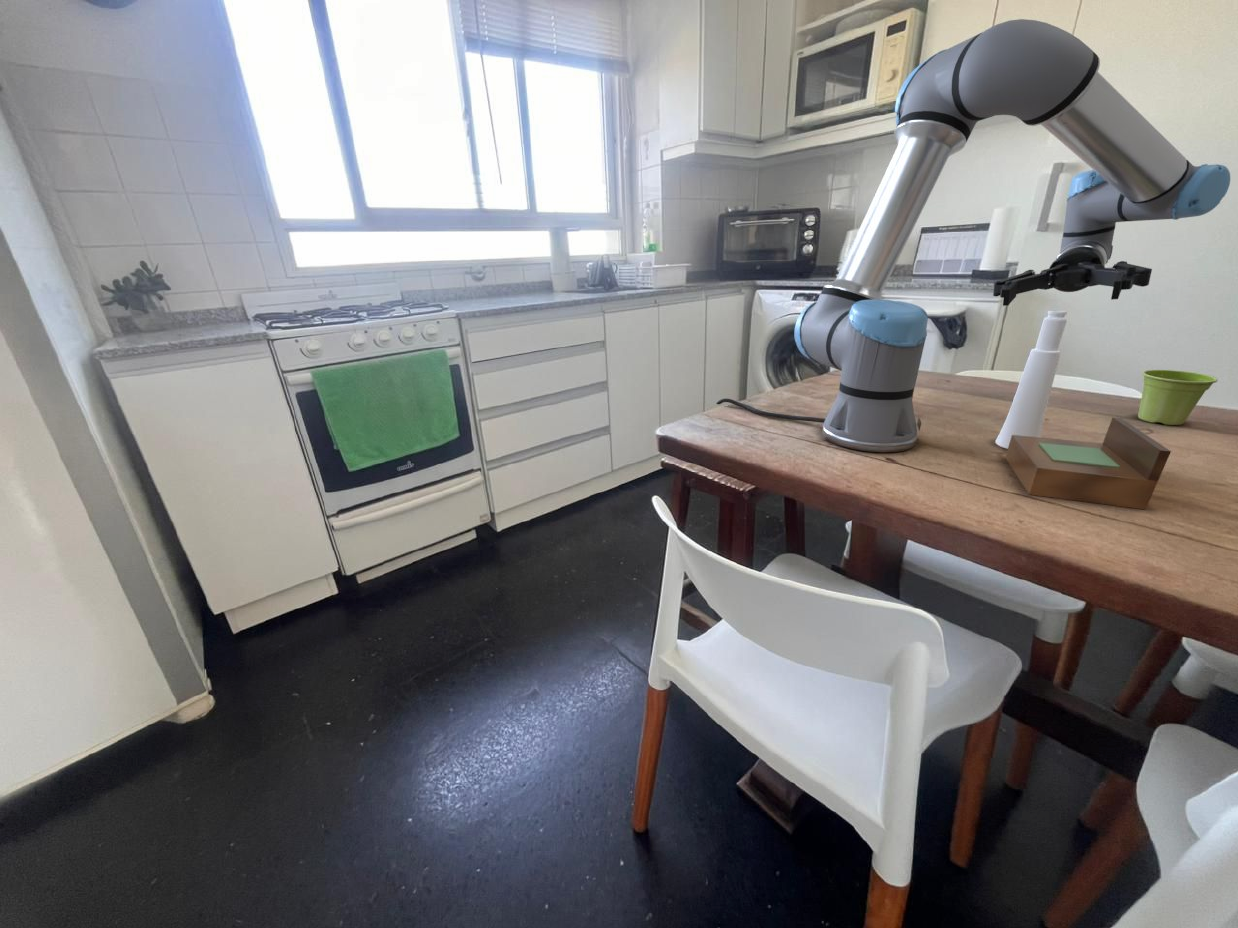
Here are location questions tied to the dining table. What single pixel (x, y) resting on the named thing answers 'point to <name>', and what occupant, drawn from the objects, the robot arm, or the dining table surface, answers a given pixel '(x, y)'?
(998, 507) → the dining table surface
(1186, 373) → the plant pot
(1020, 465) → the wooden block green inlay
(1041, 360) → the cosmetic bottle
